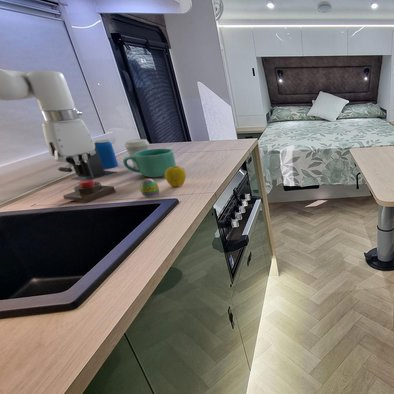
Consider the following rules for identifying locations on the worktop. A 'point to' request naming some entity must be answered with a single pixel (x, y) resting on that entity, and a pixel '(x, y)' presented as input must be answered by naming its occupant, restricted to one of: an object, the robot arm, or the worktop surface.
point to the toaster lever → (66, 168)
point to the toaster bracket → (95, 168)
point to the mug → (152, 162)
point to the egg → (149, 188)
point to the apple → (175, 175)
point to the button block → (89, 193)
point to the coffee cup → (136, 147)
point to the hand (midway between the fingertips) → (84, 175)
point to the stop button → (86, 183)
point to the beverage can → (106, 154)
